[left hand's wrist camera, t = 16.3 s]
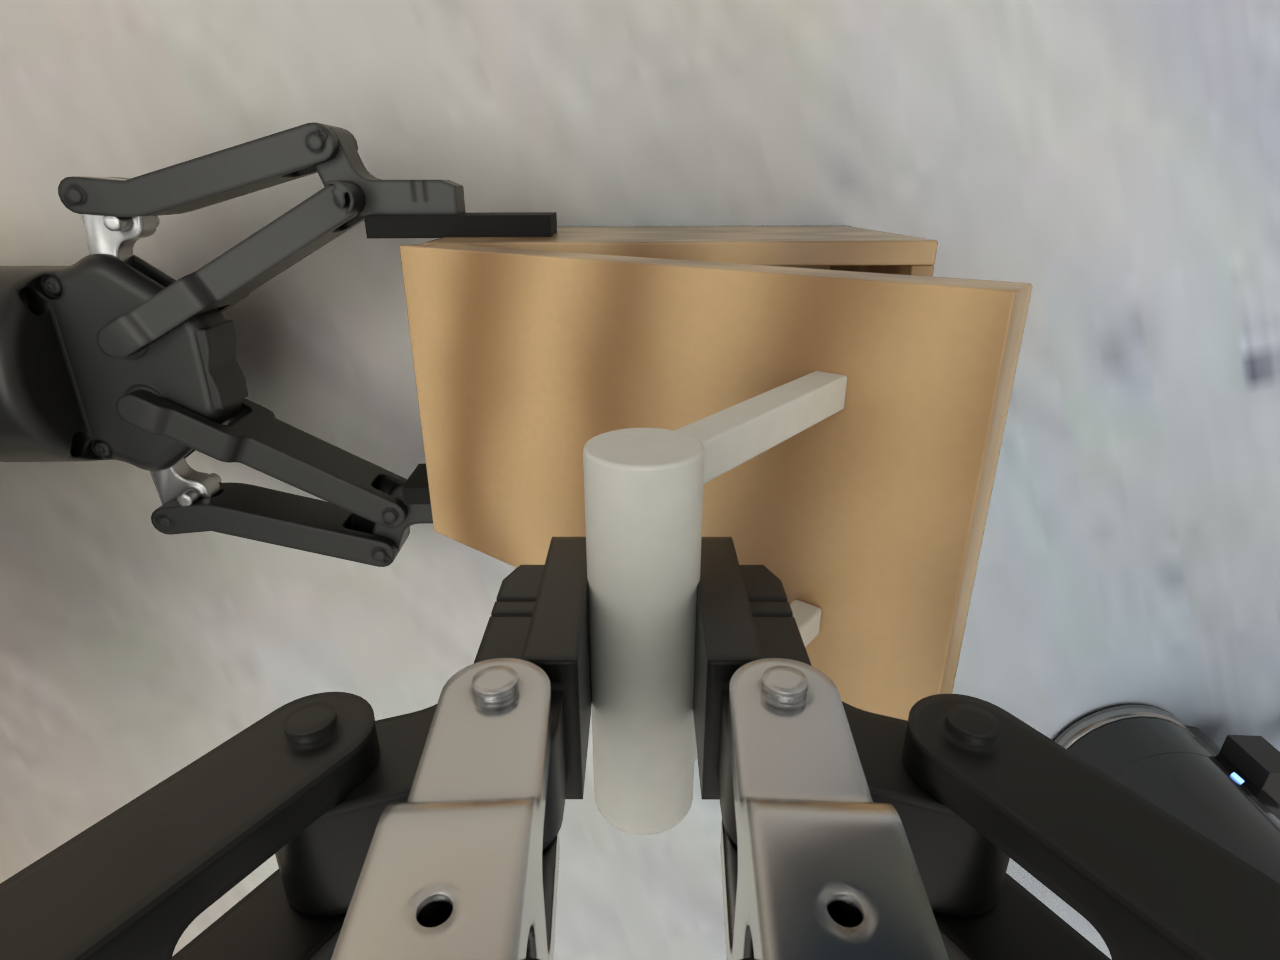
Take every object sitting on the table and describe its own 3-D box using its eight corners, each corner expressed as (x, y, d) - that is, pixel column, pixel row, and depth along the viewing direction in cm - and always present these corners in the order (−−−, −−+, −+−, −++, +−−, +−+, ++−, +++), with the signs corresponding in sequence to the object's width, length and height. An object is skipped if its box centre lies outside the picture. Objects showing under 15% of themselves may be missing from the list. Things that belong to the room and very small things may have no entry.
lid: (1033, 283, 13) (843, 366, 7) (947, 717, 16) (774, 1020, 10) (434, 243, 23) (142, 262, 17) (463, 519, 26) (231, 616, 20)
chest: (846, 225, 33) (939, 240, 23) (825, 427, 36) (899, 511, 27) (479, 226, 32) (421, 242, 23) (496, 430, 36) (452, 517, 27)
